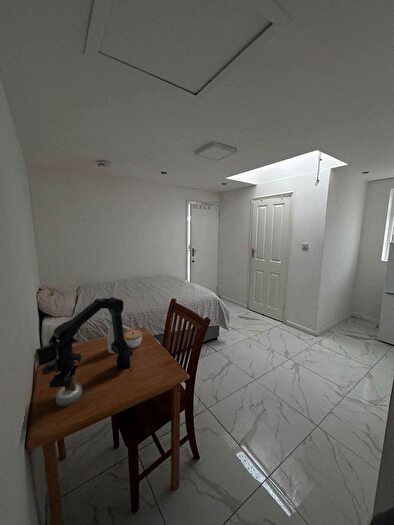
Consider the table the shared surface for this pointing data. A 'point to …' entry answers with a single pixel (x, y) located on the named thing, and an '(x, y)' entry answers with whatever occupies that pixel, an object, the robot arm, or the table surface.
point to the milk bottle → (110, 336)
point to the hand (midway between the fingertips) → (68, 386)
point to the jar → (68, 395)
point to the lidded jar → (133, 338)
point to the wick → (72, 385)
